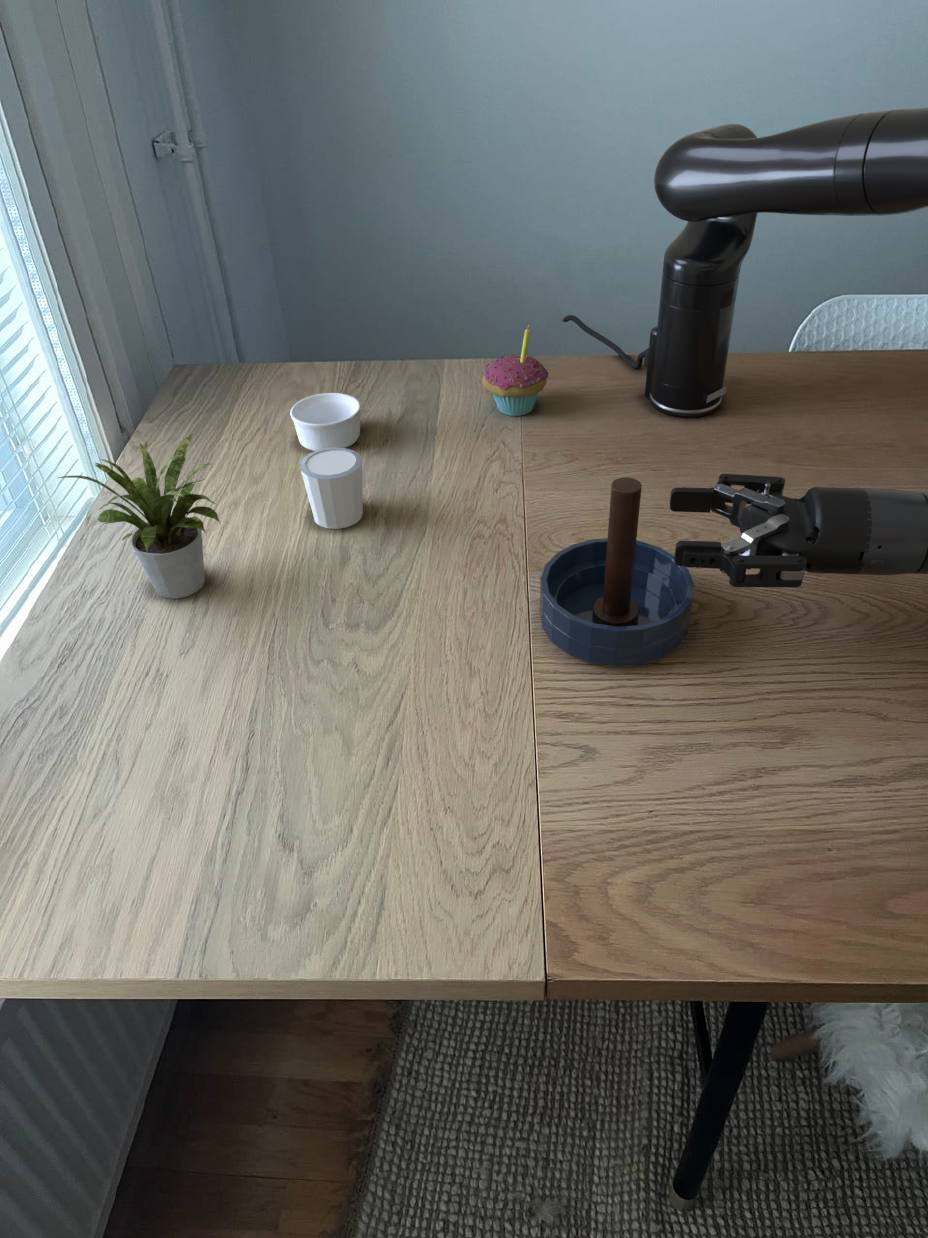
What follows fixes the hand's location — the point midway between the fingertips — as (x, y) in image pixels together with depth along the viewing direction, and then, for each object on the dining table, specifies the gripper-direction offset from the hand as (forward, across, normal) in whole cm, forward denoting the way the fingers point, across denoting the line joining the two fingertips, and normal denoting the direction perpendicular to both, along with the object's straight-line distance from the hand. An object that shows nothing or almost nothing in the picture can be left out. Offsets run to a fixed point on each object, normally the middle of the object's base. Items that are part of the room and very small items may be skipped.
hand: (672, 525), depth 85 cm
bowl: (+4, 0, +12) cm, 12 cm away
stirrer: (+4, 0, +11) cm, 12 cm away
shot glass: (+36, -17, +12) cm, 41 cm away
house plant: (+50, -2, +12) cm, 52 cm away
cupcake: (+17, -44, +12) cm, 49 cm away
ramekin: (+41, -35, +12) cm, 55 cm away
